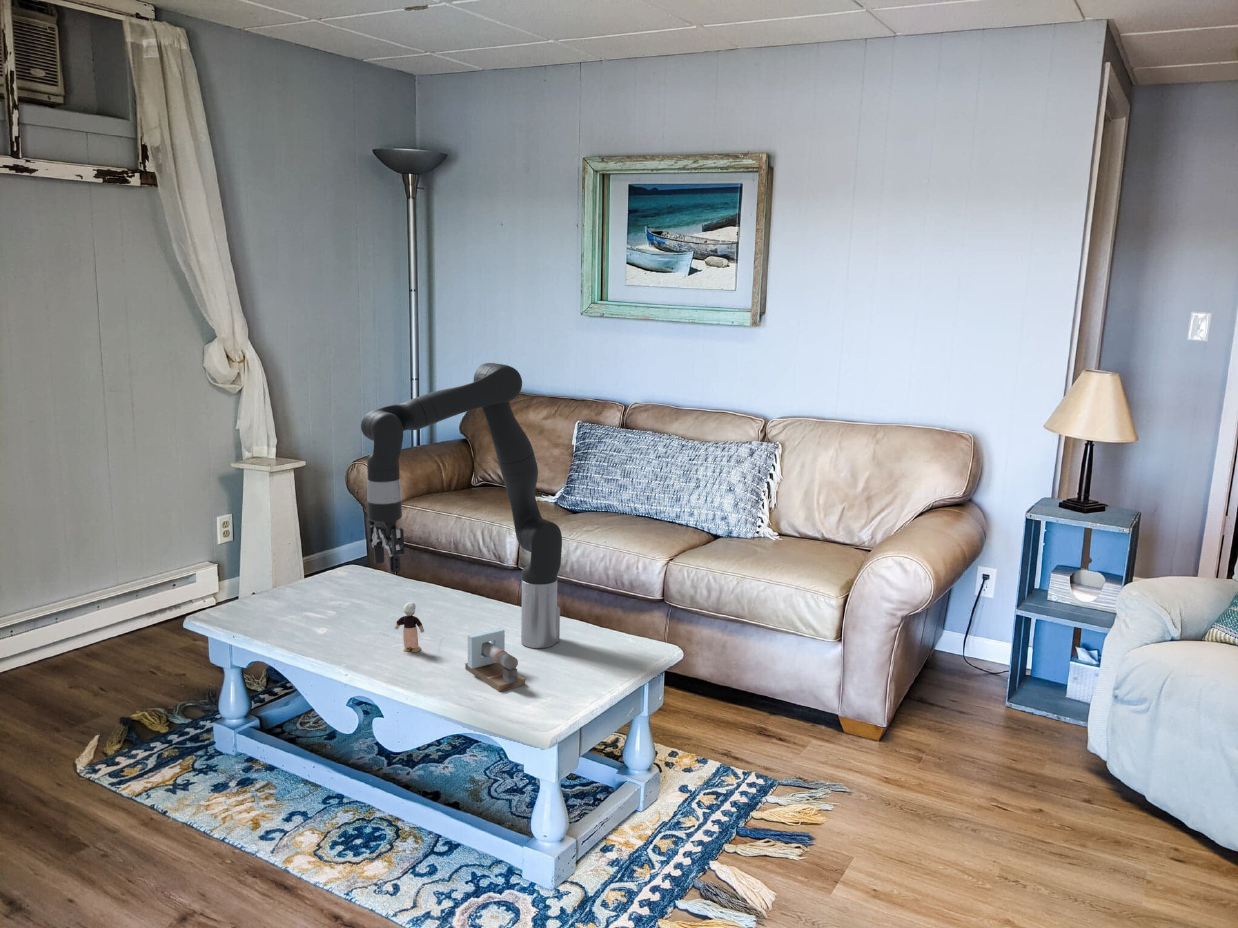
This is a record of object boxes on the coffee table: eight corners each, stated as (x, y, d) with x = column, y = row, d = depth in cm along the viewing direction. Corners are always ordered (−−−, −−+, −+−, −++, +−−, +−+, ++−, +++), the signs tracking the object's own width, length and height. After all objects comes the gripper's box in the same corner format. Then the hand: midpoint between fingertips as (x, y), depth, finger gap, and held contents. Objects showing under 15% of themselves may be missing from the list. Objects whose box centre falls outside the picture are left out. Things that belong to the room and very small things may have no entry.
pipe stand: (490, 662, 234) (490, 633, 232) (525, 684, 221) (525, 654, 220) (464, 668, 230) (464, 639, 228) (499, 691, 217) (499, 660, 216)
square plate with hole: (500, 657, 232) (500, 627, 230) (504, 660, 230) (504, 629, 229) (467, 665, 226) (467, 634, 225) (471, 668, 225) (471, 637, 223)
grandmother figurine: (426, 647, 243) (425, 599, 241) (423, 652, 239) (423, 604, 237) (396, 646, 243) (395, 599, 240) (393, 652, 239) (392, 604, 237)
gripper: (413, 502, 211) (415, 571, 214) (386, 490, 222) (389, 557, 225) (382, 506, 206) (384, 577, 209) (356, 495, 217) (359, 562, 221)
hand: (386, 567), depth 217 cm, fingers open, 8 cm apart
